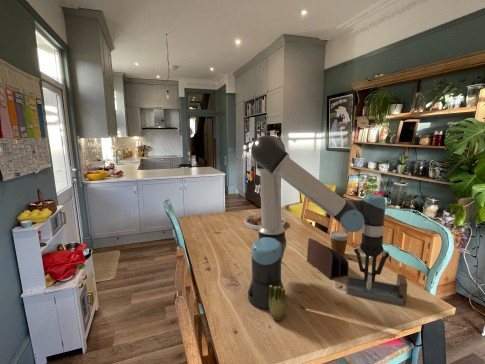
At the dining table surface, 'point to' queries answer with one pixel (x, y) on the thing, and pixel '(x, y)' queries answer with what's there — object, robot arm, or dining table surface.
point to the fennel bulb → (277, 302)
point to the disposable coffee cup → (339, 241)
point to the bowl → (257, 221)
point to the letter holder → (326, 260)
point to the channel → (379, 290)
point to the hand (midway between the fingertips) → (368, 288)
